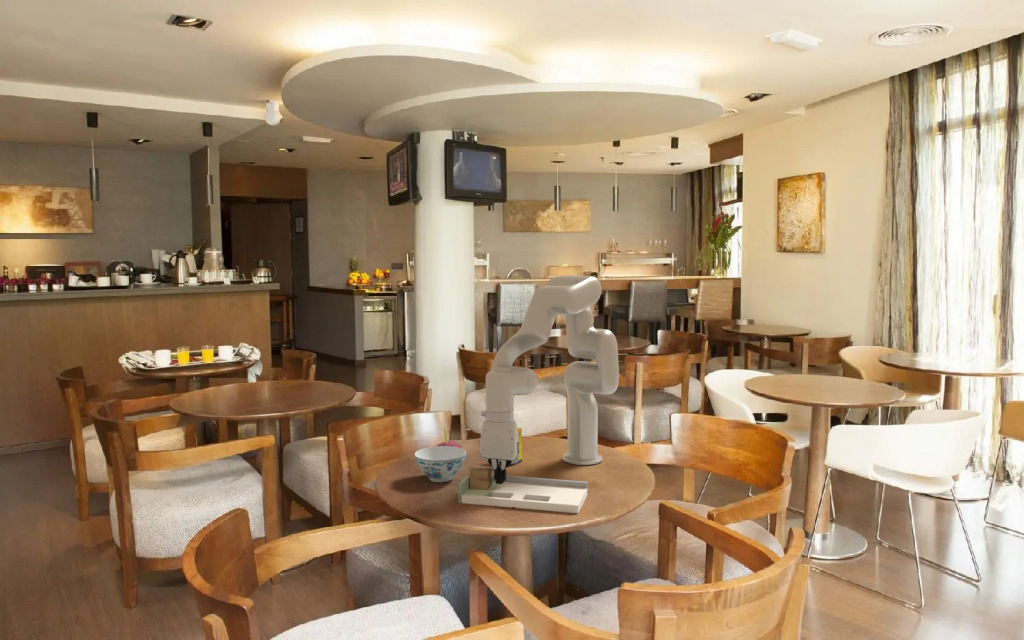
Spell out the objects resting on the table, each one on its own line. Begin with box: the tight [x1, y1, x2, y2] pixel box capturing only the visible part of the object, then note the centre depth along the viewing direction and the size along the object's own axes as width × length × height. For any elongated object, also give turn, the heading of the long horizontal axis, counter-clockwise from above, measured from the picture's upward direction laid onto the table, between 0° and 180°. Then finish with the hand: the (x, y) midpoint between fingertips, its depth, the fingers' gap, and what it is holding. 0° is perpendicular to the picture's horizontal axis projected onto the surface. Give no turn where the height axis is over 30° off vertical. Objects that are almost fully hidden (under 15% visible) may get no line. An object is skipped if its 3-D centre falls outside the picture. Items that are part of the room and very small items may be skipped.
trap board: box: [457, 473, 589, 514], centre depth 188 cm, size 15×32×5 cm, turn 75°
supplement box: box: [499, 426, 523, 466], centre depth 222 cm, size 6×6×11 cm
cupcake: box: [437, 427, 463, 449], centre depth 221 cm, size 9×8×12 cm
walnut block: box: [469, 465, 493, 490], centre depth 192 cm, size 5×5×5 cm
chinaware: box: [414, 445, 467, 483], centre depth 206 cm, size 15×15×8 cm
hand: (500, 482), depth 191 cm, fingers closed
